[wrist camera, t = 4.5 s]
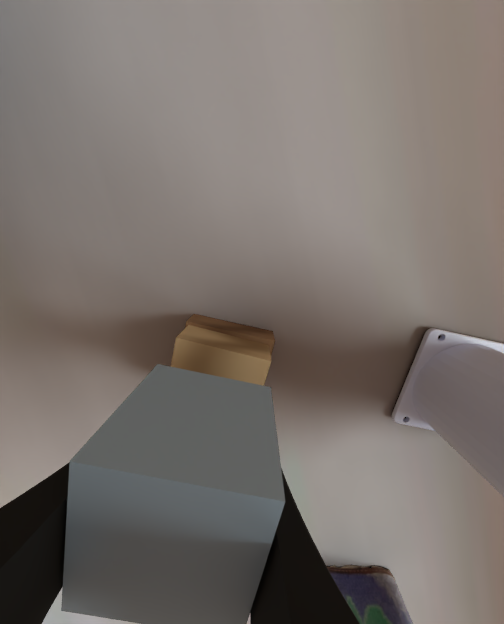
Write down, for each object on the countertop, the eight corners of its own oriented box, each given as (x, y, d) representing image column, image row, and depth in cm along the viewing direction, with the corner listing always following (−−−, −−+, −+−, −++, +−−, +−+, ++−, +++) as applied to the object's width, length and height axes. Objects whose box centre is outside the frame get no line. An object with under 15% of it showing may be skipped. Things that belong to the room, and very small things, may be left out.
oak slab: (269, 345, 16) (271, 361, 13) (248, 414, 17) (247, 440, 15) (188, 324, 16) (176, 337, 13) (173, 396, 17) (160, 420, 14)
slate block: (270, 386, 10) (285, 502, 6) (246, 477, 12) (241, 639, 7) (157, 363, 10) (69, 461, 5) (144, 458, 11) (61, 610, 6)
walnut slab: (272, 329, 18) (274, 340, 16) (254, 396, 20) (254, 416, 17) (195, 312, 18) (186, 321, 16) (183, 381, 19) (173, 400, 17)
